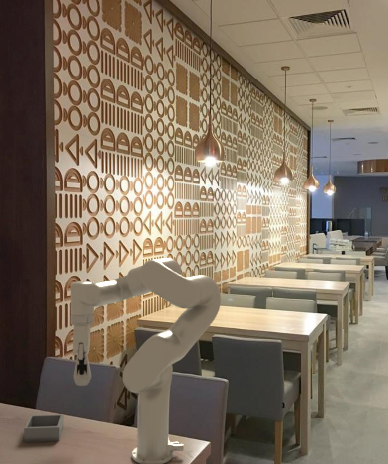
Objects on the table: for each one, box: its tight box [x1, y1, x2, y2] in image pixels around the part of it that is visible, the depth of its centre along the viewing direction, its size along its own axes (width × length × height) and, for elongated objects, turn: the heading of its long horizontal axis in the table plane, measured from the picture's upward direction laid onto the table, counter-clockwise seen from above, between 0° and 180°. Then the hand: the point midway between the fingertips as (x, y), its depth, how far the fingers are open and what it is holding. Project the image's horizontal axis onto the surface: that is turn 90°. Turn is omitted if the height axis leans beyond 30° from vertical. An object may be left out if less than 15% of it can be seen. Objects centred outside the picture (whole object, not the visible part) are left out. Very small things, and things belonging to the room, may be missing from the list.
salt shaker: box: [72, 353, 92, 387], centre depth 168 cm, size 6×6×13 cm
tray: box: [23, 413, 65, 443], centre depth 170 cm, size 11×11×4 cm
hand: (82, 374), depth 168 cm, fingers closed on salt shaker, 3 cm apart
